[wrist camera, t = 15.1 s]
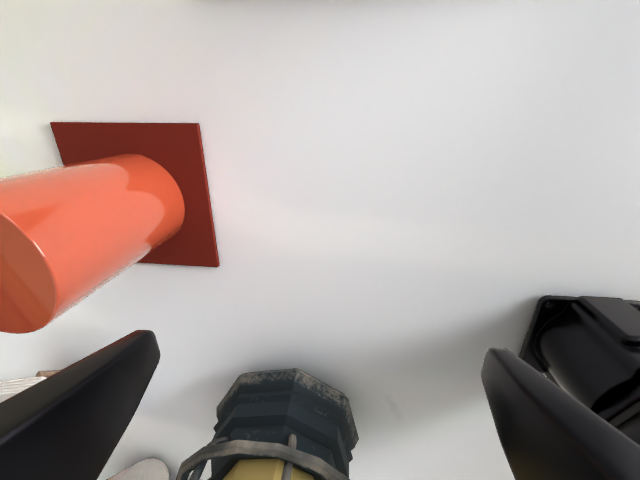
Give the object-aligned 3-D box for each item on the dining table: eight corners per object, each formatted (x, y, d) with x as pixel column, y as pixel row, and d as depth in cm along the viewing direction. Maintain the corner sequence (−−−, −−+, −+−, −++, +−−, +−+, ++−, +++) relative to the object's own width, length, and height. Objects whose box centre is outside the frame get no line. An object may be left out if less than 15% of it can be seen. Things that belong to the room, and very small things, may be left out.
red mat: (219, 265, 23) (217, 267, 23) (97, 258, 24) (94, 260, 24) (199, 123, 19) (196, 123, 19) (53, 121, 20) (49, 122, 20)
